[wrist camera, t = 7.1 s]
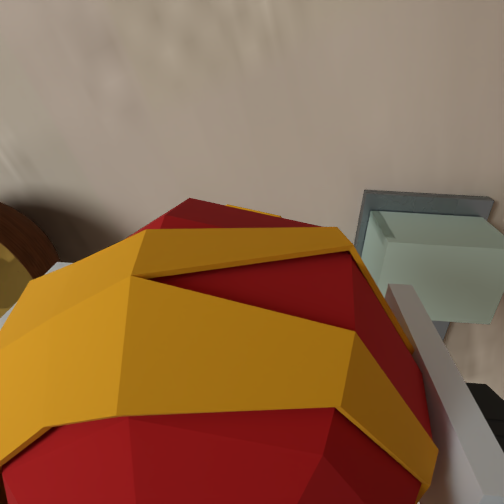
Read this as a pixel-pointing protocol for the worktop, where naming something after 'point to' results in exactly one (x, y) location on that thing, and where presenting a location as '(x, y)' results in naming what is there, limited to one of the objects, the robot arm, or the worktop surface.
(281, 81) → the worktop surface
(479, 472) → the robot arm
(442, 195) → the stub plate
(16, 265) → the bowl
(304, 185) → the worktop surface
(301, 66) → the worktop surface
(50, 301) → the potion bottle
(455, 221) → the block
